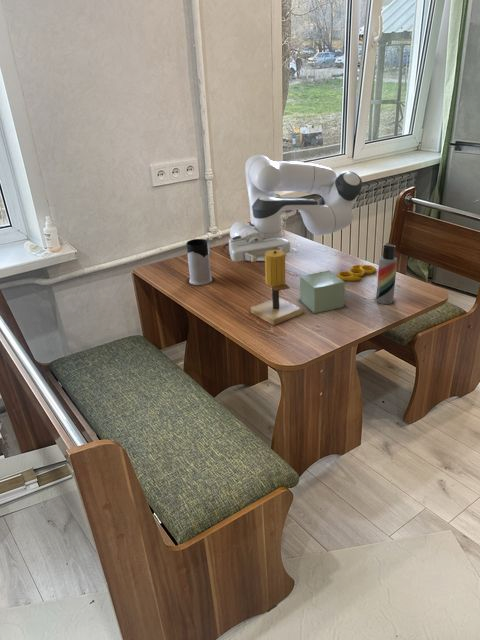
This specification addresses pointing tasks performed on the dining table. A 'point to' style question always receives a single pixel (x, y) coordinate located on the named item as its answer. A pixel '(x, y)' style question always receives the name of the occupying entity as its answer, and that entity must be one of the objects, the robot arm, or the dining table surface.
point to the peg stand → (276, 309)
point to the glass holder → (199, 261)
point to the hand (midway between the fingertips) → (268, 257)
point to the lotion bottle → (386, 275)
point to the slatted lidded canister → (275, 269)
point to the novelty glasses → (356, 276)
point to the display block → (322, 291)
